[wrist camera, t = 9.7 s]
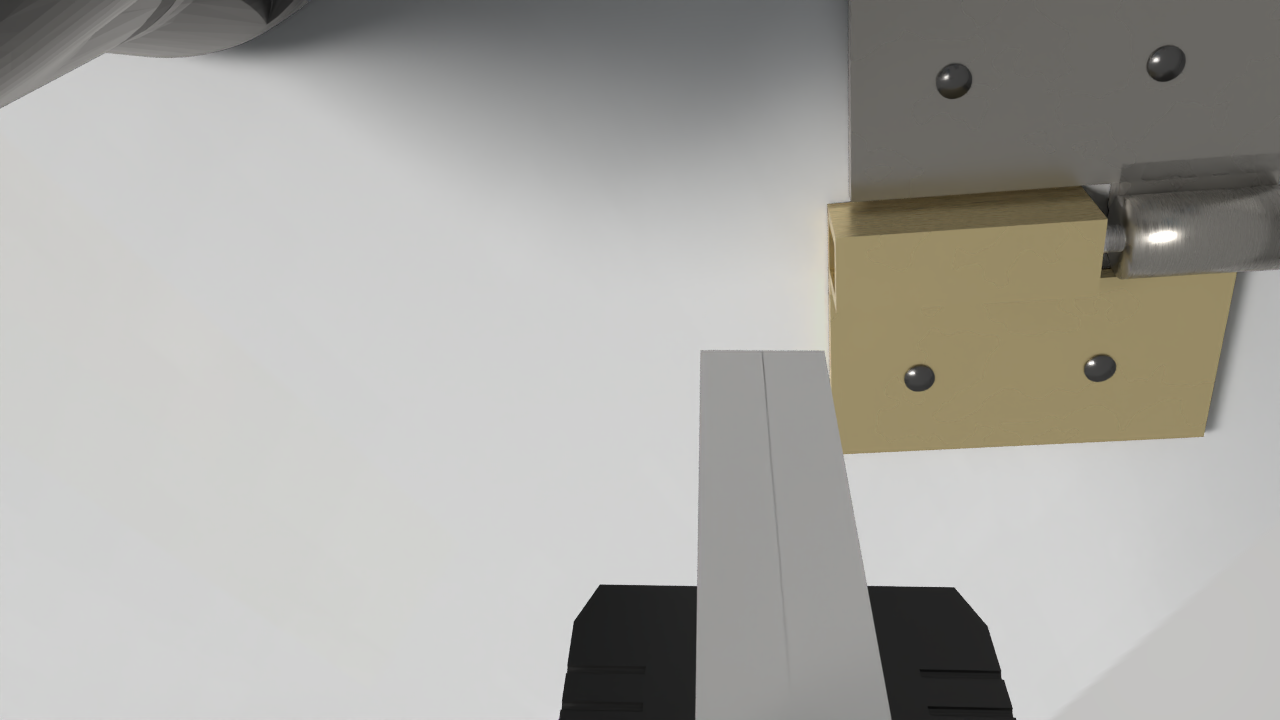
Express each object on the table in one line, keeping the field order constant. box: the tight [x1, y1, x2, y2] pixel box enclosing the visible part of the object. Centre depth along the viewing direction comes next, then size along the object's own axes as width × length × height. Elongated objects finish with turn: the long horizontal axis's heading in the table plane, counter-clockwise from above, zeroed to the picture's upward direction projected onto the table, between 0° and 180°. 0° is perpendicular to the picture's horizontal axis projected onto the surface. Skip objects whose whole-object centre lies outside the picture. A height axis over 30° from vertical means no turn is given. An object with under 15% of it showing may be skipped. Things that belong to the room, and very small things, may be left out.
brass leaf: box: [827, 186, 1237, 454], centre depth 40 cm, size 15×11×3 cm
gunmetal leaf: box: [848, 0, 1280, 279], centre depth 36 cm, size 15×11×3 cm
